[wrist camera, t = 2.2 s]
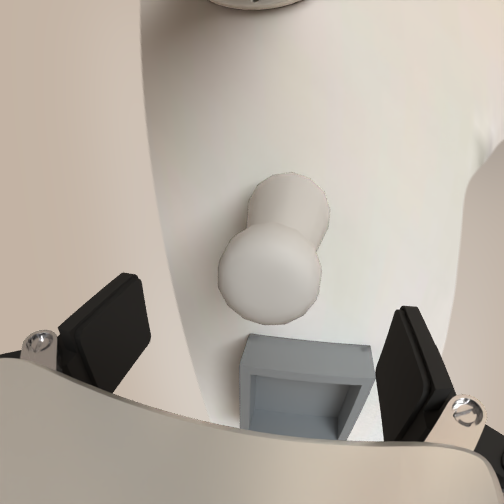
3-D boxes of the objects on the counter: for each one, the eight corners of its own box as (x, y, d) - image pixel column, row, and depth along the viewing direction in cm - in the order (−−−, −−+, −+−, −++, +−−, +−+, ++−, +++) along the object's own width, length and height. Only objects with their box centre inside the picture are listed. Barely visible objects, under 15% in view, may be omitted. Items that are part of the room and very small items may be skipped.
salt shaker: (323, 164, 21) (338, 208, 10) (332, 235, 23) (345, 344, 12) (248, 173, 23) (177, 228, 11) (260, 242, 25) (212, 348, 13)
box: (249, 333, 29) (239, 364, 25) (370, 345, 27) (375, 378, 23) (247, 405, 34) (240, 434, 30) (343, 415, 32) (343, 445, 28)
